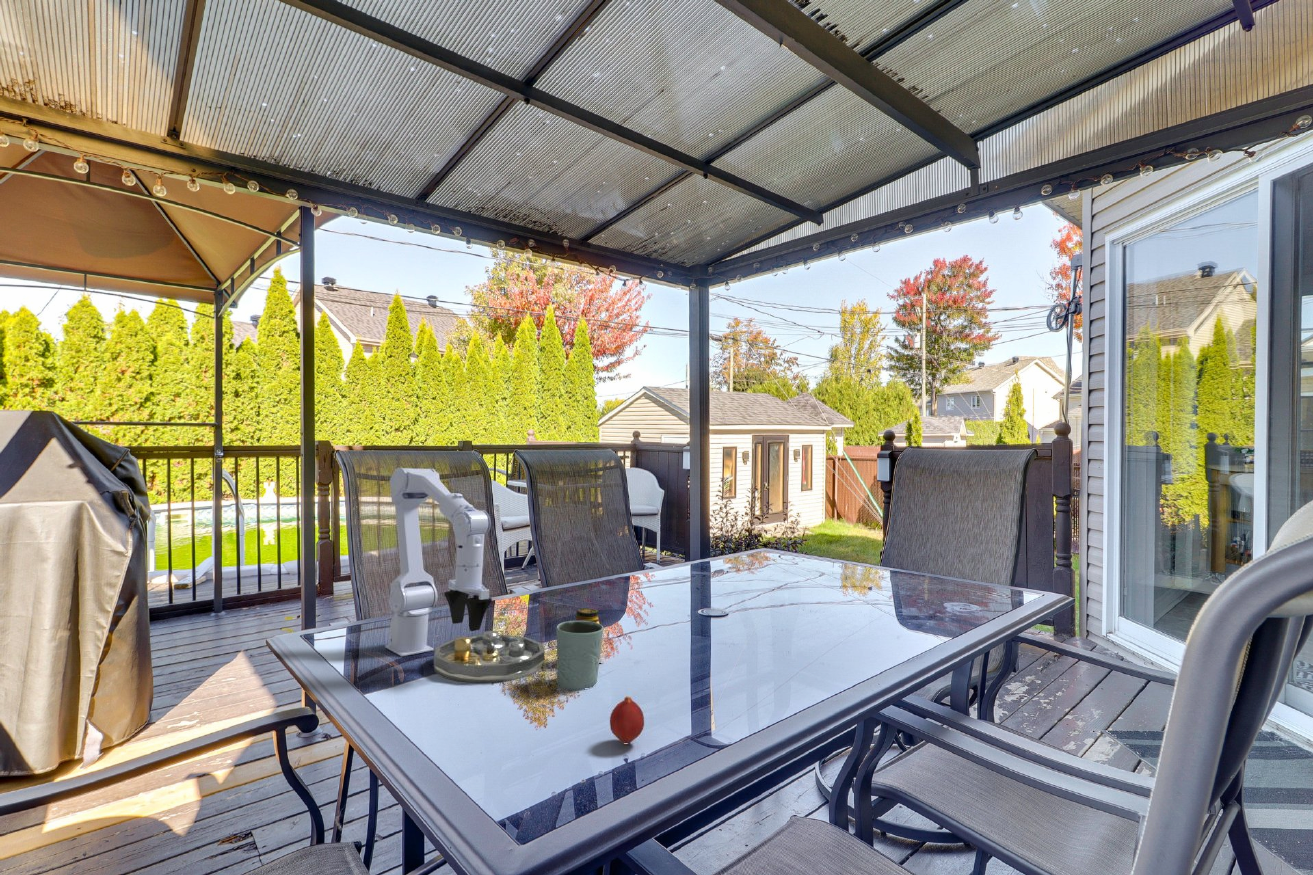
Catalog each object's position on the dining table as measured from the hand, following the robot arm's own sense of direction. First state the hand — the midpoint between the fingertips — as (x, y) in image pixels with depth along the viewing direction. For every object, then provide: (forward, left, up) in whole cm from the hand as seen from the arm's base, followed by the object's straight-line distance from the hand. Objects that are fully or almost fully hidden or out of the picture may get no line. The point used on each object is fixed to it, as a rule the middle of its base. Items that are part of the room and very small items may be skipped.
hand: (465, 626), depth 138 cm
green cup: (+22, +15, -10) cm, 28 cm away
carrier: (0, +7, -10) cm, 12 cm away
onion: (+50, +3, -10) cm, 51 cm away
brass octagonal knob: (0, 0, -8) cm, 8 cm away
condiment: (+11, +25, -10) cm, 29 cm away
